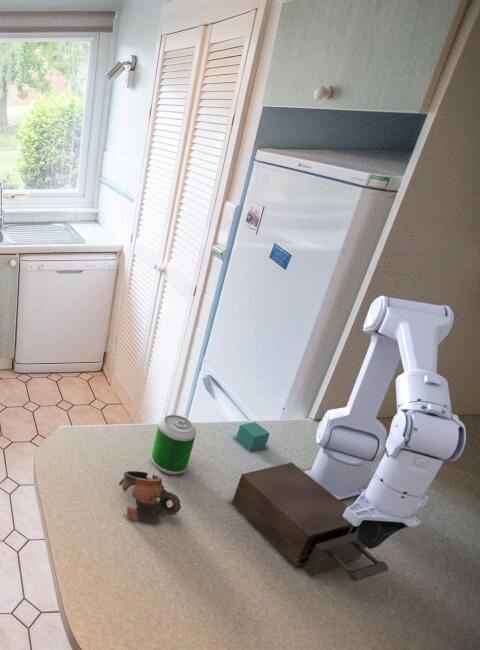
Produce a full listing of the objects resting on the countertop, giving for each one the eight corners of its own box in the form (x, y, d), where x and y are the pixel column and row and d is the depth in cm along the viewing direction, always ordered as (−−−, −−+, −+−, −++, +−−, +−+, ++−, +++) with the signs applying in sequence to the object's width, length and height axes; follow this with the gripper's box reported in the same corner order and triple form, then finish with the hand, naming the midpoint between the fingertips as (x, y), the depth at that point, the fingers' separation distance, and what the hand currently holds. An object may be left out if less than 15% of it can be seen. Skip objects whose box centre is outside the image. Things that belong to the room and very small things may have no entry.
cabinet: (348, 550, 84) (364, 519, 80) (294, 567, 81) (309, 536, 77) (280, 490, 96) (291, 462, 93) (231, 503, 93) (241, 474, 90)
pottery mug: (111, 515, 91) (113, 473, 92) (127, 505, 99) (128, 466, 99) (175, 534, 84) (176, 488, 84) (187, 521, 91) (188, 479, 92)
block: (250, 435, 112) (254, 421, 110) (264, 447, 108) (270, 433, 106) (235, 438, 111) (240, 424, 109) (249, 451, 107) (254, 436, 105)
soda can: (189, 479, 99) (201, 437, 94) (153, 474, 100) (163, 432, 95) (181, 455, 106) (192, 414, 101) (148, 451, 107) (157, 410, 102)
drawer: (387, 583, 77) (403, 558, 74) (336, 601, 74) (350, 576, 72) (292, 500, 93) (302, 477, 90) (247, 512, 90) (256, 489, 88)
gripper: (393, 513, 63) (357, 576, 69) (465, 491, 67) (426, 554, 72) (343, 476, 69) (314, 537, 75) (412, 458, 73) (379, 518, 79)
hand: (366, 543), depth 74 cm, fingers closed
